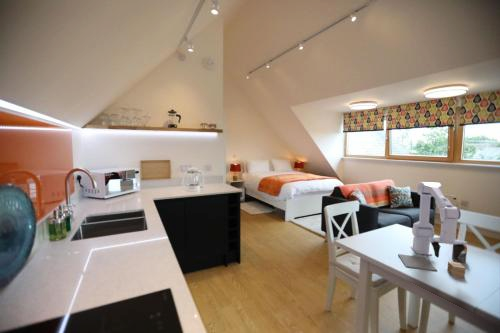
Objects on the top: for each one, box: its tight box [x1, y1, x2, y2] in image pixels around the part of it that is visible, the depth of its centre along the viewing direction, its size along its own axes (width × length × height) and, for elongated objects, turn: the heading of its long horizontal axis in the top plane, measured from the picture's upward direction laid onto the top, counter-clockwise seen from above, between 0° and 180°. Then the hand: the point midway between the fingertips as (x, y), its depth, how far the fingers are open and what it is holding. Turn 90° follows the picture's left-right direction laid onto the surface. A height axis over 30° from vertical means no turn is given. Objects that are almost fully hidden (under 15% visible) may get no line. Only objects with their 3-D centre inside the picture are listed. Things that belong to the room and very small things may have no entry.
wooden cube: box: [447, 261, 466, 278], centre depth 119 cm, size 5×5×5 cm
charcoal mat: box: [397, 253, 438, 272], centre depth 130 cm, size 14×14×1 cm
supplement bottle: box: [451, 245, 468, 263], centre depth 132 cm, size 6×6×11 cm
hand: (445, 257), depth 115 cm, fingers open, 7 cm apart
